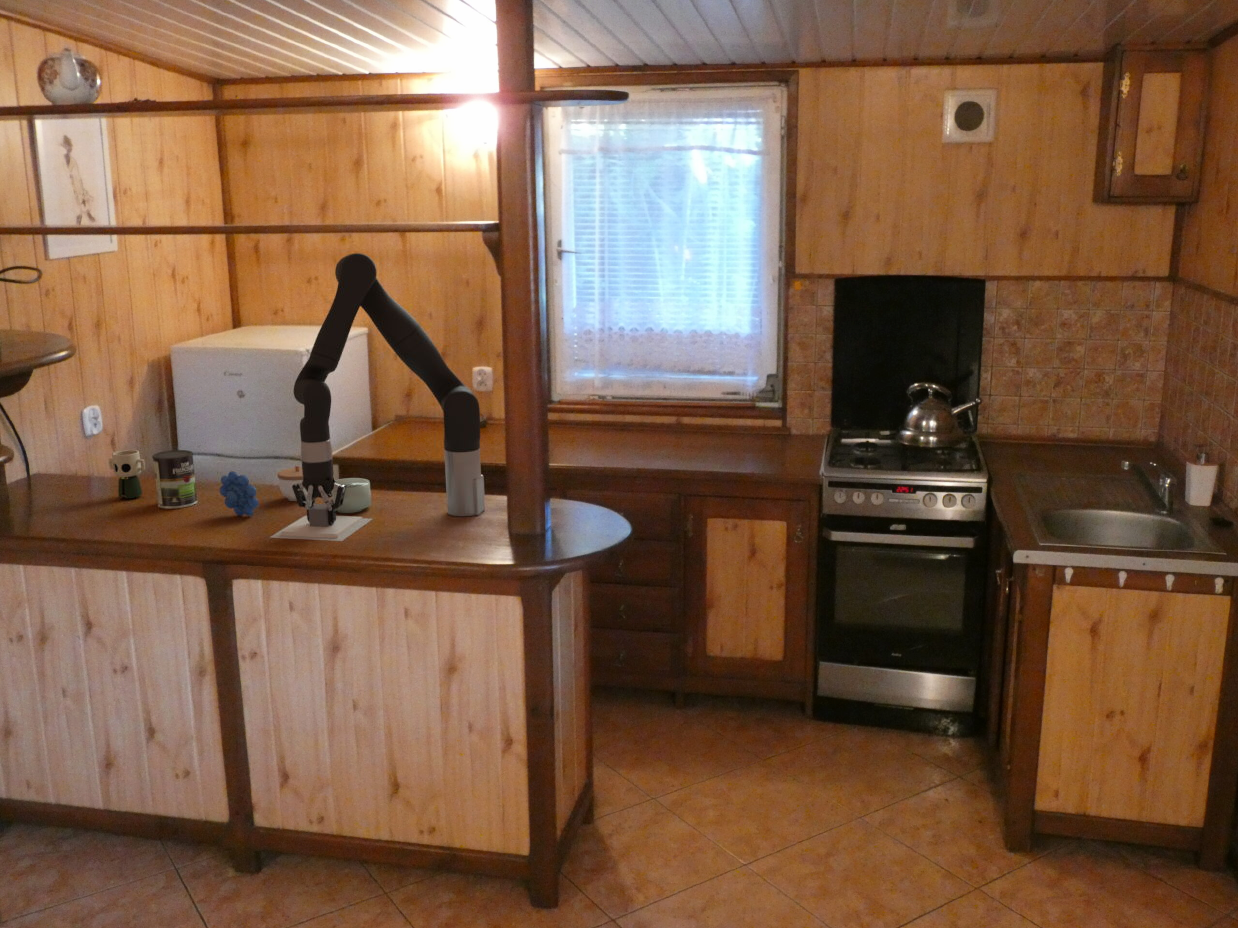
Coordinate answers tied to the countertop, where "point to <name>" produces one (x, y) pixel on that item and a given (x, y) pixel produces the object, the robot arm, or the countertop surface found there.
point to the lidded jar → (290, 481)
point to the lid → (321, 524)
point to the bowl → (354, 495)
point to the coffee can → (175, 479)
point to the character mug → (127, 472)
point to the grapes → (238, 493)
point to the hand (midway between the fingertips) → (322, 523)
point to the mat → (341, 538)
